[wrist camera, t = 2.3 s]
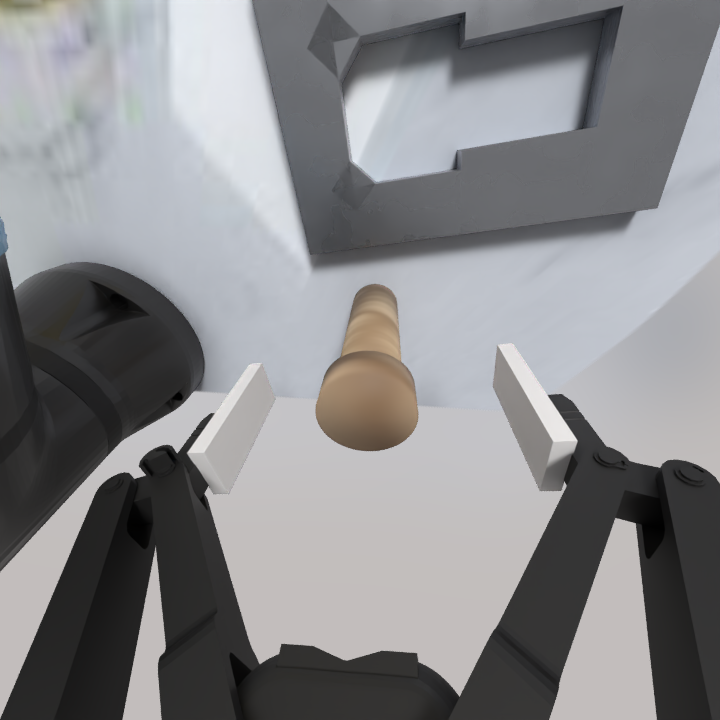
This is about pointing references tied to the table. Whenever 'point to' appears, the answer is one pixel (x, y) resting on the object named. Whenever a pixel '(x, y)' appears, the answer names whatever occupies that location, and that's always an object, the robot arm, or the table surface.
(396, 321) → the peg
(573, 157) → the keyhole plate
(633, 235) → the table surface
